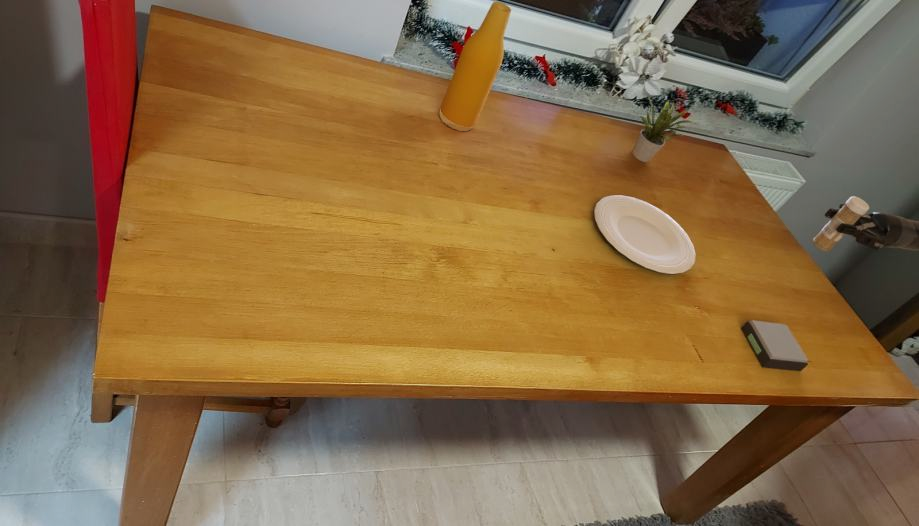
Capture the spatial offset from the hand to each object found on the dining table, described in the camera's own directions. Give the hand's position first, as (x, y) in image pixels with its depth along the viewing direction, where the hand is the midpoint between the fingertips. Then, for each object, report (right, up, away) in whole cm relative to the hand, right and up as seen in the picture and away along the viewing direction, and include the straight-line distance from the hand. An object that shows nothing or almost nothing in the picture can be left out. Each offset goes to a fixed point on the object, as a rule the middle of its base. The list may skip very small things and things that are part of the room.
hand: (833, 220), depth 154 cm
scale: (-21, -27, -14) cm, 37 cm away
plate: (-44, -4, -1) cm, 44 cm away
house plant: (-36, +18, +27) cm, 48 cm away
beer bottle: (-85, +24, +8) cm, 89 cm away
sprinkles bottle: (0, -6, +6) cm, 8 cm away
